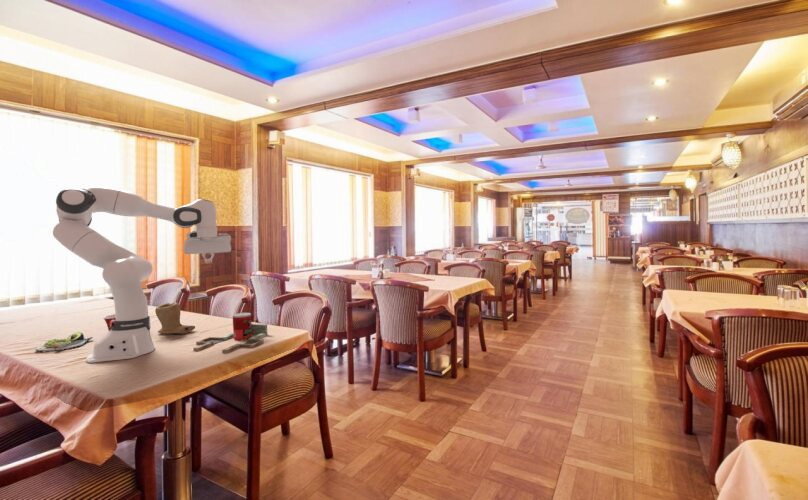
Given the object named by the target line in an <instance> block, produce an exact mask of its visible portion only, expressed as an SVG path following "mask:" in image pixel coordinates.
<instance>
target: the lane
mask: <svg viewBox="0 0 808 500" xmlns="http://www.w3.org/2000/svg"><path fill="white" fill-rule="evenodd" d="M266 336H268V324H267V323H252V337H251V338H249V339H247V340H245V342H244V343H236V344H233V345H230V346H228V347H225V348H224V349H221V351H222V354H229V353H231V352H232V351H235V350H237V349H240V348H246V349H253V348H255V347H259V345H262V344H264V343H265V341H264V339H262V338H263V337H266ZM231 338H234V334H233V332H231V333H229V334H226V335H224V336H221V337H220V336H219V337H218V336H217V337H216V336H209V337H205V338H203V339H200V340H198V341H195V344H196V345H198V346H195V347H193V352H199V351H202V350H204V349H207V348H210V347H211V346H214V345H215V344H218V343H221V342H224V341H226V340H228V339H231Z"/></svg>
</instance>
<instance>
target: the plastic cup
mask: <svg viewBox="0 0 808 500" xmlns="http://www.w3.org/2000/svg"><path fill="white" fill-rule="evenodd" d="M102 318H103V321H105V324H106V326H107V330H108V332H109V331H110V330H111V329H110V321H111V320H116V317H115V313H114V314H109V315H106V316H103V317H102Z"/></svg>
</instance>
